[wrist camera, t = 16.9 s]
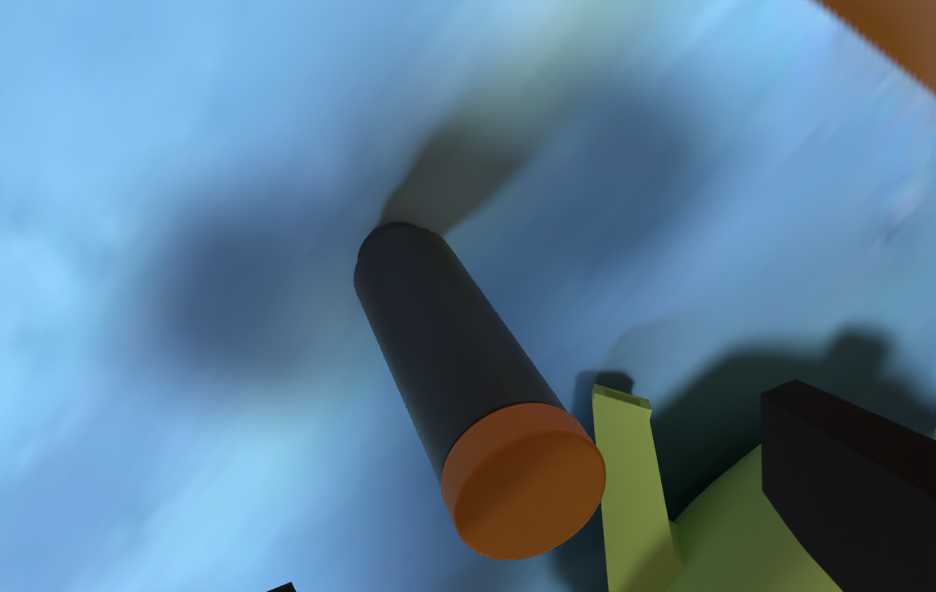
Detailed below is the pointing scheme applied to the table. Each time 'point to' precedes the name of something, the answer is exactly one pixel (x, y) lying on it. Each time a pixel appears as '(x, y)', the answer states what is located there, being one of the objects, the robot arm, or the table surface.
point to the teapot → (690, 519)
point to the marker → (476, 400)
